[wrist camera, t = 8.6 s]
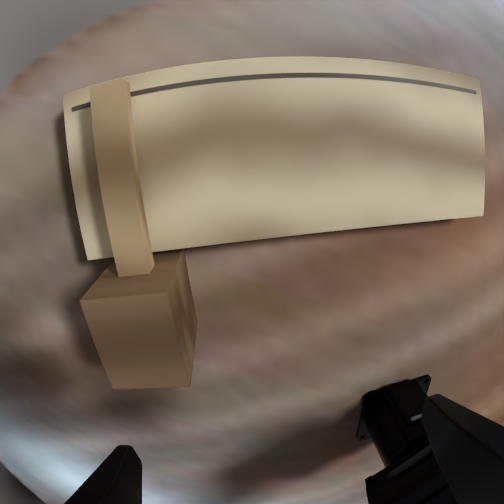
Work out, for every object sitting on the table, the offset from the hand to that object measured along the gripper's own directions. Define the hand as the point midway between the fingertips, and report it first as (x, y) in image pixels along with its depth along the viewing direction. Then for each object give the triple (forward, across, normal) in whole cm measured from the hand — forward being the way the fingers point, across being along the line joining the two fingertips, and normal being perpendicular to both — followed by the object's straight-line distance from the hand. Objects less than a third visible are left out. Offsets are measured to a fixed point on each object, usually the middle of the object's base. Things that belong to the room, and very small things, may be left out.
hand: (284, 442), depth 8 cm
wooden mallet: (+12, +6, 0) cm, 13 cm away
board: (+12, -4, -8) cm, 14 cm away
